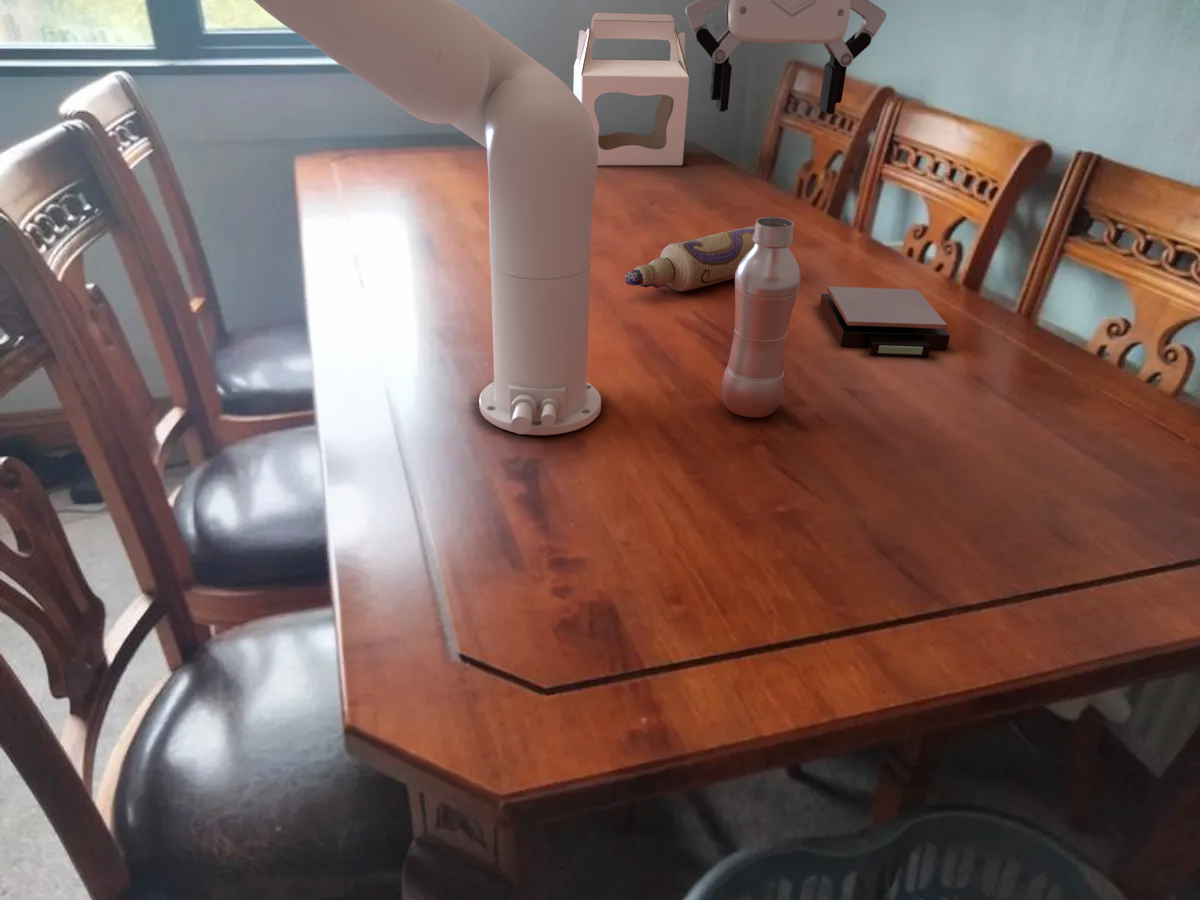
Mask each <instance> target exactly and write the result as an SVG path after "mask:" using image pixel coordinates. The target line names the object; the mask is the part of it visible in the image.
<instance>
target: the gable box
mask: <svg viewBox="0 0 1200 900" xmlns="http://www.w3.org/2000/svg"><path fill="white" fill-rule="evenodd" d="M602 39H616V40H621V39H622V40H658V41H659V40H662V41H663V42H664V41H668V43H669V58H668V59H635V58H634V59H633V58H629V59H628V58H627V59H625V58H593V44H594V42H595V41H596V40H602ZM689 88H690V74H689V70H688V67H687V63H686V32H685V31H679V32H677V30H676V29H675V19H674V17H673V16H672V15H671V14H669V13H667V14H665V13H664V14H663V13H626V12H625V13H624V12H620V13H619V12H594V13H593V14H592V16H591V21H590V28H589V27H588V28H587V30H586V31H585V30H584V29H579V30H578V39H577V47H576V58H575V61H574V64H573V91H572V92H573V93H574V94H575V96H576V97H577V98H578V99H579V101H580V102H581V103H582V105H583V106H584V107H585V109H586V111H587V113H588V115H589V116H590V119H591V121H592V124H593V127H594V131H595V135H596V141H597V151H598V162H597V167H598V166H602V167H603V166H604V167H605V166H609V167H610V166H611V167H614V166H617V167H619V166H625V167H626V166H627V167H628V166H633V167H634V166H636V167H637V166H640V167H641V166H642V167H643V166H645V167H647V166H648V167H649V166H651V167H653V166H654V167H656V166H657V167H659V166H660V167H662V166H663V167H667V166H668V167H669V166H670V167H673V166H674V167H675V166H679V167H681V166H683V165H684V152H685V140H686V128H687V127H686V125H687V116H688V115H687V113H688V101H689ZM608 93H620V94H626V95H631V96H637V97H647V96H656V95H661V97H660V101H659V103H658V106H657V108H656V111H655V114H654V131H653V133H652V134H651V135H649V136H643V135H639V134H637V133H634V132H629V131H617V132H612V133H608V134H604V135H600V124H599V120H598V117H597V114H596V111H595V102H596V99H597V98H598V97H599V96H601V95H603V94H608Z"/></svg>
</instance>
